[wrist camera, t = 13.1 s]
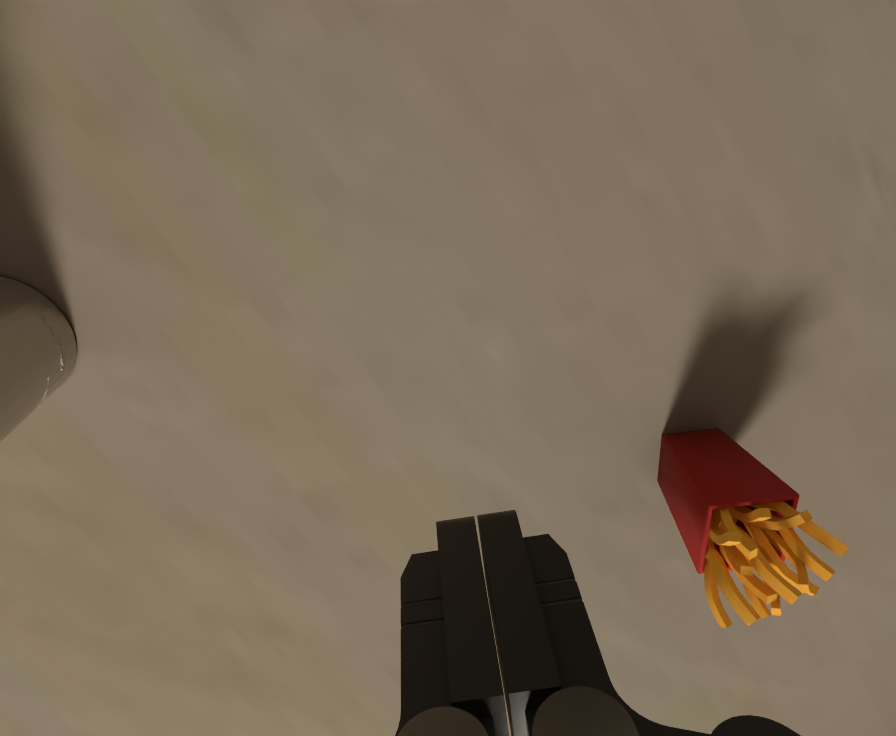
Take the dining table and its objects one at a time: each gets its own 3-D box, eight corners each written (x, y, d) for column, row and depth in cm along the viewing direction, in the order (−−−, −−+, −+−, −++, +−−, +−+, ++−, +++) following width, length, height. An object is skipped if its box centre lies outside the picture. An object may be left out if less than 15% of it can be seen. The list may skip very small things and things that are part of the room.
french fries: (651, 425, 49) (745, 559, 36) (749, 414, 50) (879, 543, 36) (644, 509, 53) (726, 657, 40) (735, 499, 54) (847, 643, 40)
